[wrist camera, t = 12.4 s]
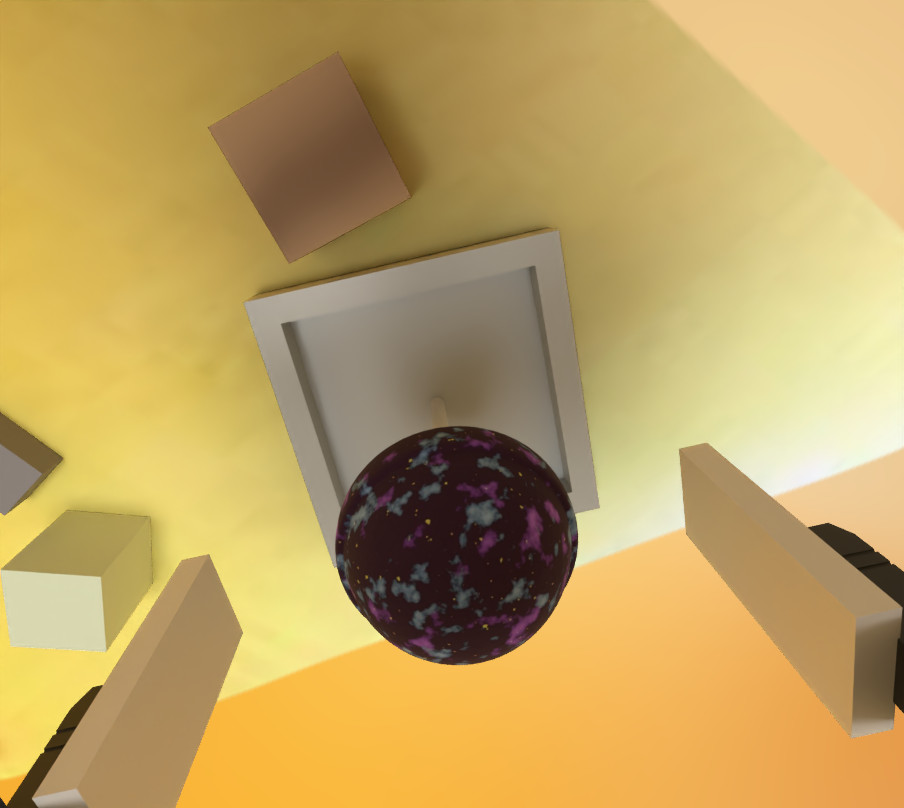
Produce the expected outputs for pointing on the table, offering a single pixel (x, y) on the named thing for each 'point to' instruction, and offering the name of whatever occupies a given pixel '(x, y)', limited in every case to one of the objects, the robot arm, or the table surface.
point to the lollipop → (456, 542)
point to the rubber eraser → (21, 464)
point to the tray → (428, 361)
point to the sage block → (78, 581)
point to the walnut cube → (311, 159)
